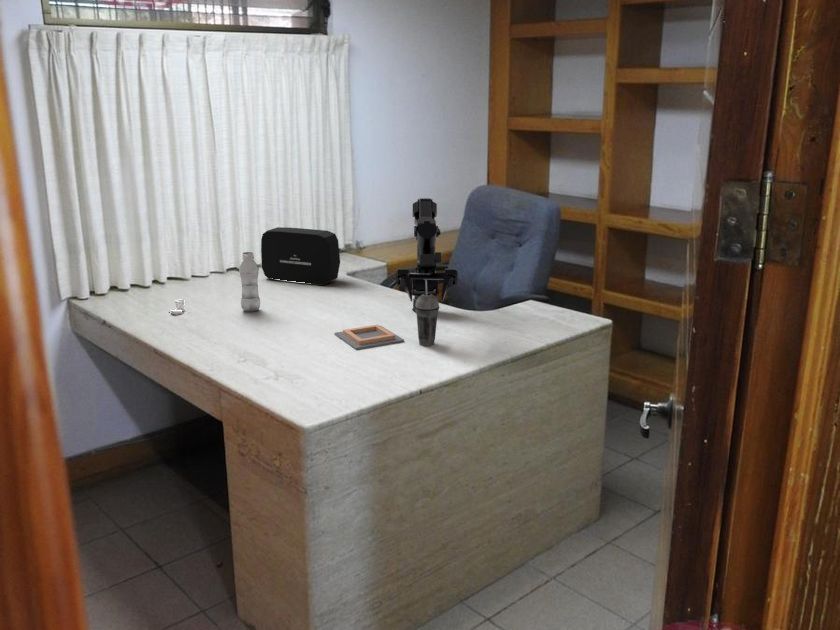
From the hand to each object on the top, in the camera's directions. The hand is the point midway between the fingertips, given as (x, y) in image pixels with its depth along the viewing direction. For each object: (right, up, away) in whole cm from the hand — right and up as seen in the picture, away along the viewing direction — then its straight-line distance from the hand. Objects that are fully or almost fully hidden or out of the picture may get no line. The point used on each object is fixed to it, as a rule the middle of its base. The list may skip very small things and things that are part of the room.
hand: (426, 300), depth 233 cm
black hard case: (-48, +9, +72) cm, 87 cm away
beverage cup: (0, -13, -1) cm, 13 cm away
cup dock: (-18, -11, +4) cm, 21 cm away
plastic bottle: (-60, -3, +31) cm, 67 cm away
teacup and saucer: (-86, -4, +29) cm, 91 cm away
